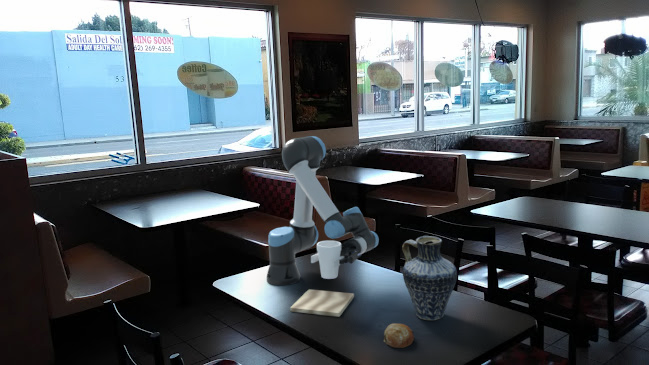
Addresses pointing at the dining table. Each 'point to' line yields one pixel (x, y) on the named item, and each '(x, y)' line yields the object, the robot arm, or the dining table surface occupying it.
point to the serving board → (322, 302)
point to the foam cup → (328, 258)
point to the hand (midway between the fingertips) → (322, 261)
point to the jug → (428, 277)
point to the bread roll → (398, 335)
